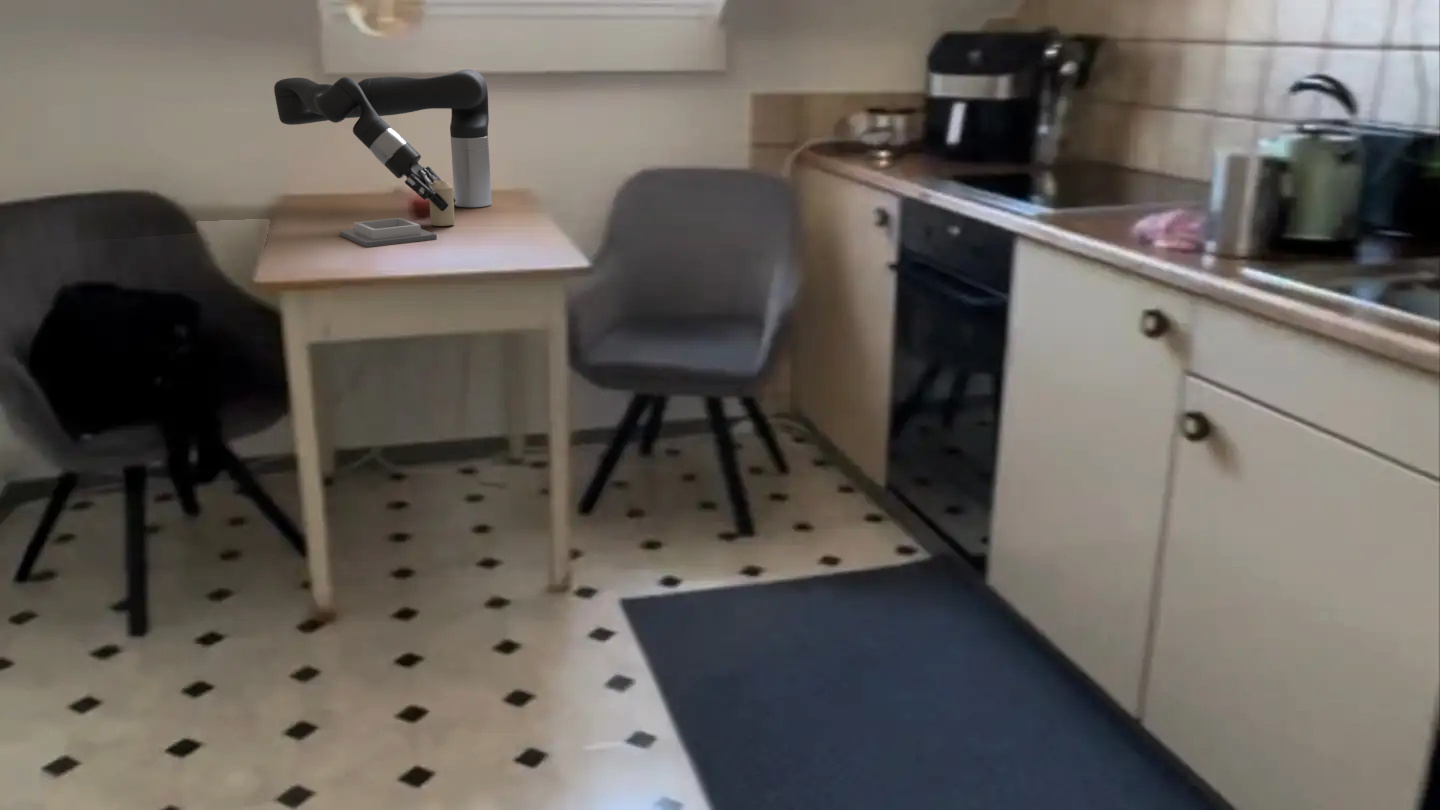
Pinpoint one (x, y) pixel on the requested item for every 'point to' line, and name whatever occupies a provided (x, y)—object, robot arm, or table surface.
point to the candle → (448, 214)
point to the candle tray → (386, 232)
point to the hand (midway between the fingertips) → (449, 205)
